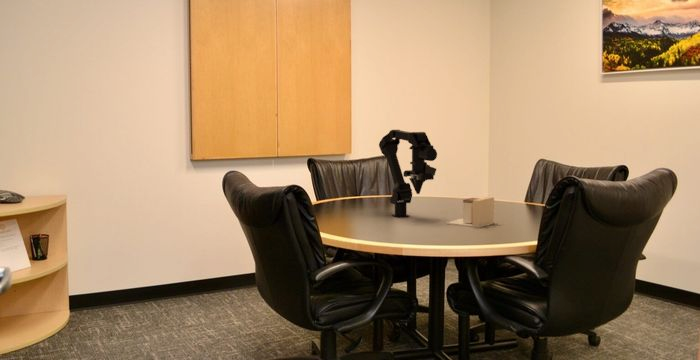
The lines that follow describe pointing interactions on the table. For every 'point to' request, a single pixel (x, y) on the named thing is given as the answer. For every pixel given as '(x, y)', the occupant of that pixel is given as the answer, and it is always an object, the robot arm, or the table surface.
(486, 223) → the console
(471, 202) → the brown topped beige block
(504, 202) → the table surface
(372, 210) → the table surface
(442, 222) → the table surface
